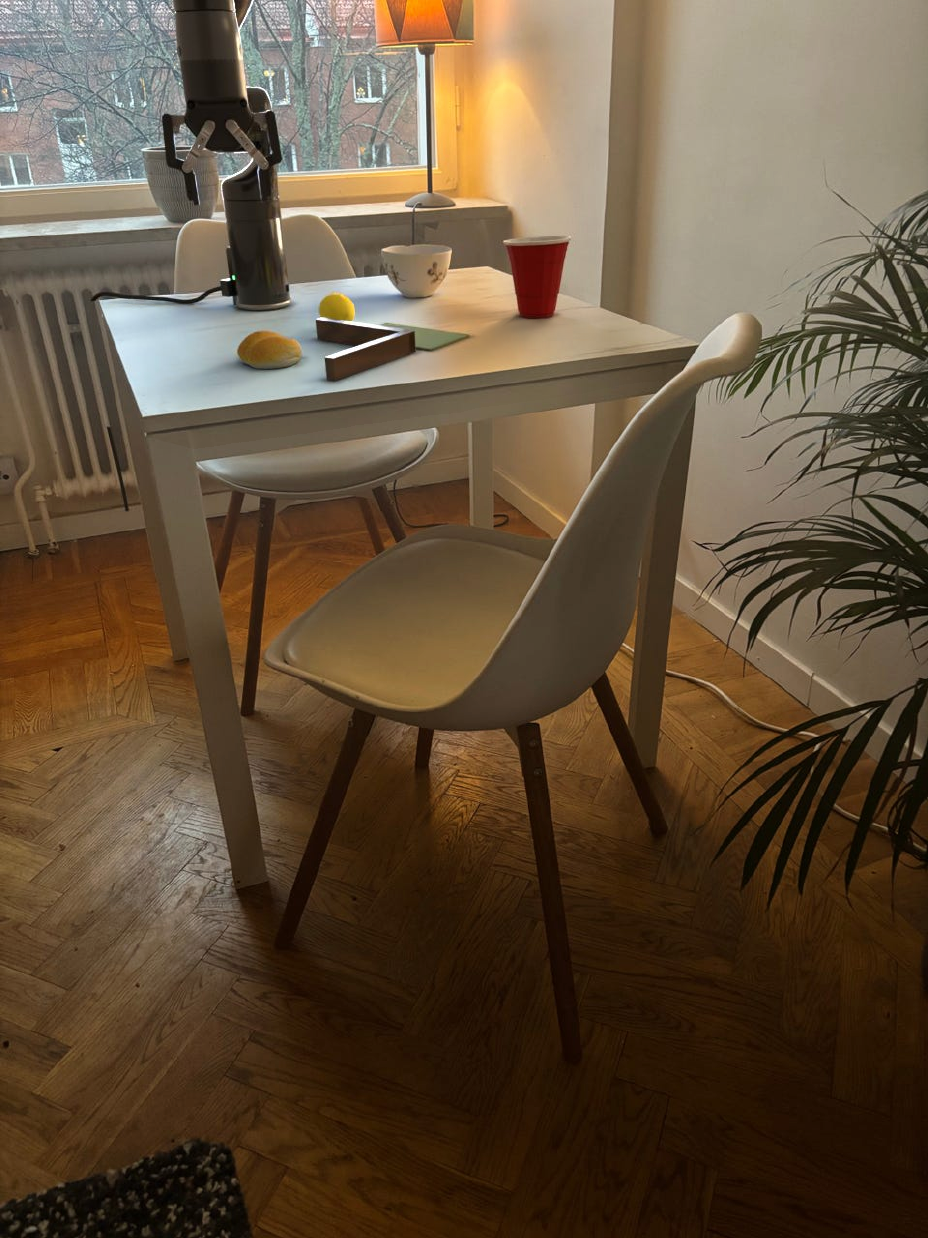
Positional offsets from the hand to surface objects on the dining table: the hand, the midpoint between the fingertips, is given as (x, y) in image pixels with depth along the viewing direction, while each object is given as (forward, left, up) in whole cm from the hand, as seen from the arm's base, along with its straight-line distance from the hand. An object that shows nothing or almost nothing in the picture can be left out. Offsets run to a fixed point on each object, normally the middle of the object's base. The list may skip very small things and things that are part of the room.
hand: (230, 203), depth 121 cm
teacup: (-8, +49, -21) cm, 54 cm away
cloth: (+11, +22, -20) cm, 32 cm away
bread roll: (+3, +1, -21) cm, 21 cm away
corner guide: (+8, +7, -20) cm, 23 cm away
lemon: (-2, +21, -21) cm, 30 cm away
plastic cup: (+20, +45, -21) cm, 53 cm away
